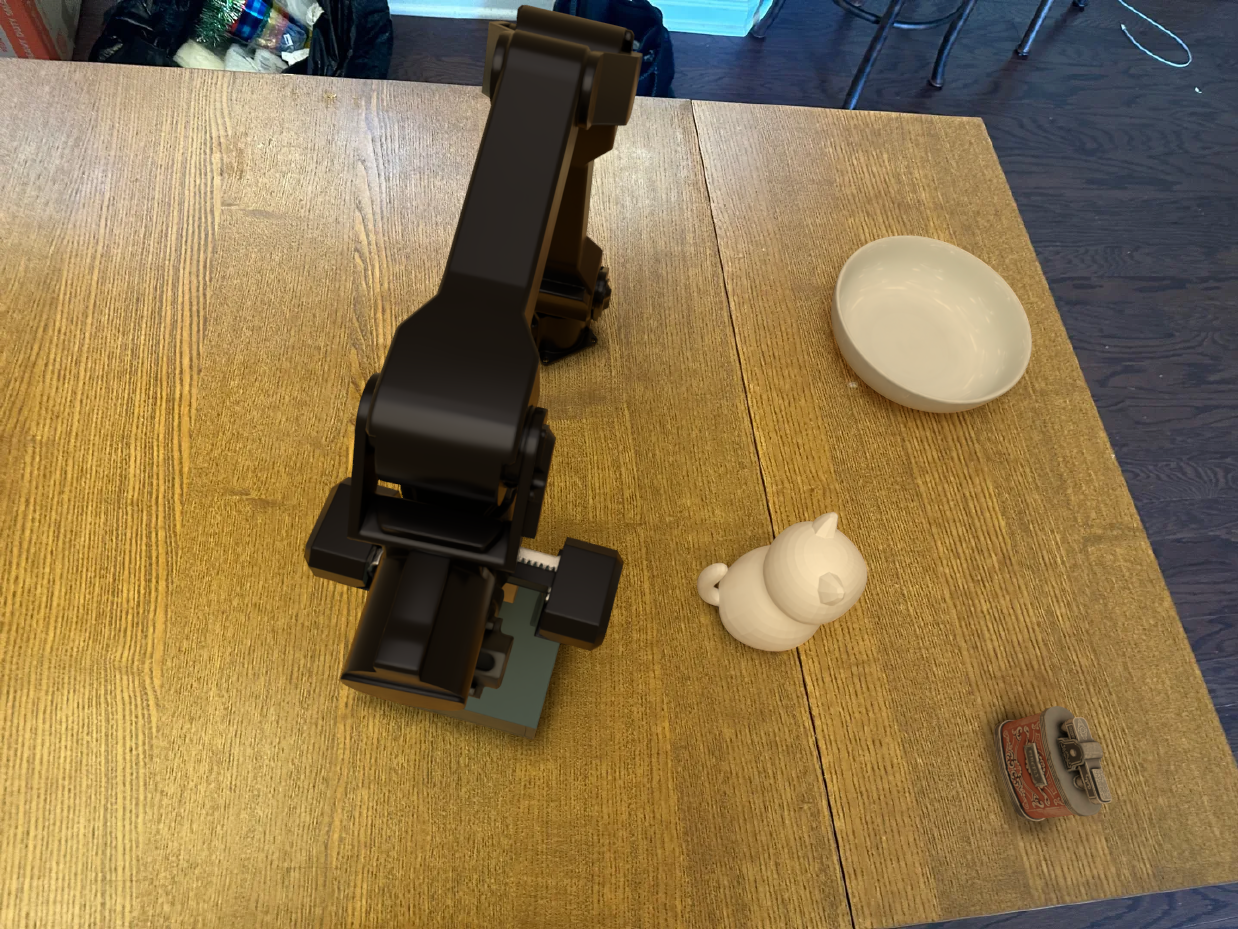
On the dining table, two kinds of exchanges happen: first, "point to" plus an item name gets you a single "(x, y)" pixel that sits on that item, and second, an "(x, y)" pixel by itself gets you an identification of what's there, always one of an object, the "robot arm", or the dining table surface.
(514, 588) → the chest lid
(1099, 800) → the lighter
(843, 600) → the cat figurine
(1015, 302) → the serving bowl
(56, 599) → the dining table surface
